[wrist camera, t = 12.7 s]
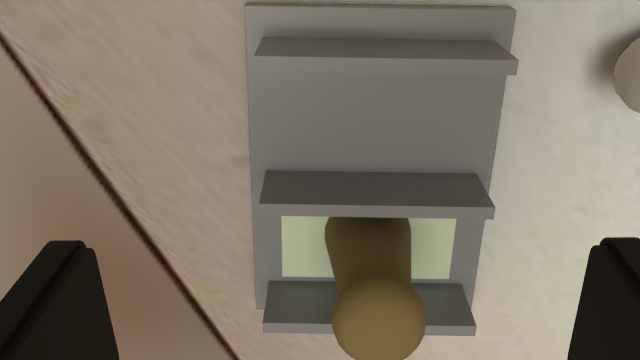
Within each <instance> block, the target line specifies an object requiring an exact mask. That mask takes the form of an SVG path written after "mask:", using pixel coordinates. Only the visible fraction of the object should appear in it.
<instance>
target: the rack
mask: <svg viewBox="0 0 640 360" xmlns="http://www.w3.org/2000/svg"><path fill="white" fill-rule="evenodd" d="M515 16H516V10H515V9H513V8H512V7H488V6H425V5H361V4H298V3H246V5H245V32H246V57H247V83H248V109H249V135H250V161H251V186H252V212H253V238H254V264H255V290H256V309H265V311H264V318H263V333H317V334H334V331H333V329H332V309H333V306H334V304H335V301H336V299H337V297H338V290H337V286H336V282H335V278H334V275H333V271H332V267H331V263H330V259H329V255H328V251H327V247H326V243H325V226H326V223H327V221H328V218H329V217H378V218H408V220H409V223H410V227H411V286H412V287H413V289H414V290H415V291H416V292H417V294H418V295H419V296H420V298H421V300H422V303H423V307H424V310H425V314H426V324H425V333H424V335H445V336H475V333H476V324H475V321H474V318H473V315H472V312H471V307H472V300H473V294H474V287H475V280H476V274H477V267H478V261H479V254H480V247H481V241H482V234H483V227H484V221H485V219H494V213H495V206H494V204H493V202H492V201H491V199H490V197H489V195H488V194H489V188H490V181H491V175H492V168H493V161H494V155H495V148H496V141H497V135H498V128H499V122H500V115H501V108H502V102H503V95H504V89H505V82H506V75H516V74H517V67H518V61H519V60H518V59H517V58H515V57H514V56H513V55H512V54H511V53H510V49H511V42H512V36H513V29H514V22H515Z"/></svg>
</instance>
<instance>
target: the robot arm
mask: <svg viewBox="0 0 640 360" xmlns="http://www.w3.org/2000/svg"><path fill="white" fill-rule="evenodd" d="M0 360H119V353H118V349H117V345H116V341H115V336H114V332H113V327H112V323H111V319H110V315H109V310H108V306H107V302H106V297H105V293H104V289H103V284H102V280H101V276H100V271H99V267H98V263H97V258H96V254H95V252H94V250H93V249H92V248H86V245H85V244H84V242H82V241H50V242H49V243H47V244H46V245H45V246H44V248H43V249H42V250H41V251H40V253H39V254H38V255H37V256H36V258H35V259H34V260H33V262H32V263H31V264H30V265H29V266H28V268H27V269H26V270H25V272H24V273H23V274H22V275H21V276H20V278H19V279H18V280H17V281H16V283H15V284H14V285H13V286H12V288H11V289H10V290H9V292H8V293H7V294H6V295H5V297H4V298H3V299H2V300H1V301H0ZM568 360H640V239H639V238H635V237H622V238H604V239H603V240H602V241H601V243H600V245H595V246H593V247H592V248H591V250H590V254H589V258H588V263H587V268H586V272H585V277H584V282H583V286H582V291H581V296H580V301H579V305H578V310H577V315H576V319H575V324H574V329H573V333H572V338H571V343H570V347H569V352H568Z"/></svg>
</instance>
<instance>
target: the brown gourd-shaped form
mask: <svg viewBox="0 0 640 360" xmlns="http://www.w3.org/2000/svg"><path fill="white" fill-rule="evenodd" d="M325 243H326V247H327V251H328V255H329V259H330V263H331V267H332V271H333V275H334V278H335V282H336V286H337V290H338V297H337V299H336V301H335V304H334V306H333V309H332V329H333V331H334V334H335V336H336V339H337V341H338V344H339V345H340V346H341V348H342V349H343V350H344V351H345V352H346V353H347V354H348V355H349V356H351V357H352V358H354V359H356V360H403V359H405V358H407V357H408V356H409V355H410V354H411V353H412V352H413V351H414V350H415V349H416V348H417V347H418V346H419V344H420V342H421V340H422V338H423V336H424V333H425V324H426V314H425V310H424V307H423V303H422V300H421V298H420V296H419V295H418V294H417V292H416V291H415V290H414V289H413V287H412V286H411V227H410V223H409V220H408V218H378V217H329V218H328V221H327V223H326V226H325Z"/></svg>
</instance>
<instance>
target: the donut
mask: <svg viewBox="0 0 640 360" xmlns="http://www.w3.org/2000/svg"><path fill="white" fill-rule="evenodd" d="M614 88H615V90H616V93H617V94H618V95H619V97H620V98H621V99H622V100H623V102H624V103H625V104H626V105H627V106H628V107H629V108H630V109H632V110H634V111H637V112H639V113H640V38H638V39H636V40H635V41H633V42H632V43H631V44H630V46H629V47H628V48H627V49H626V50H625V51H624V52H623V53H622V55H621V56H620V57H619V58H618V60H617V63H616V65H615V71H614Z"/></svg>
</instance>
